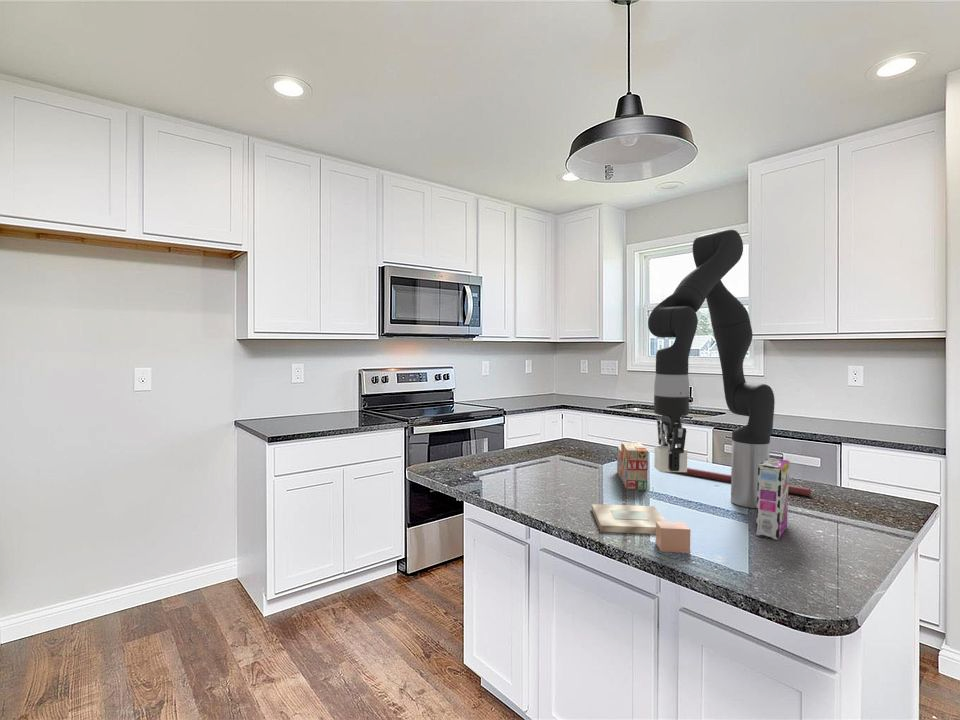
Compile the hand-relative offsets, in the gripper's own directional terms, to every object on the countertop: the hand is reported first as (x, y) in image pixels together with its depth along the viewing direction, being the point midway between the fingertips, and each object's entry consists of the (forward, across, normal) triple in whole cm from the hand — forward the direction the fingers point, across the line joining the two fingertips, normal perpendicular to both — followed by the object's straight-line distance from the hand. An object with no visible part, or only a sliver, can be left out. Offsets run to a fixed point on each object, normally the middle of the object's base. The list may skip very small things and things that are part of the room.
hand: (670, 467), depth 118 cm
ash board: (+15, +8, +7) cm, 19 cm away
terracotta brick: (+15, -8, +2) cm, 18 cm away
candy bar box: (+16, +3, -24) cm, 29 cm away
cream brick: (0, 0, 0) cm, 0 cm away
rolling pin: (+16, +47, -33) cm, 60 cm away
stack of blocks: (+16, +47, -2) cm, 49 cm away
